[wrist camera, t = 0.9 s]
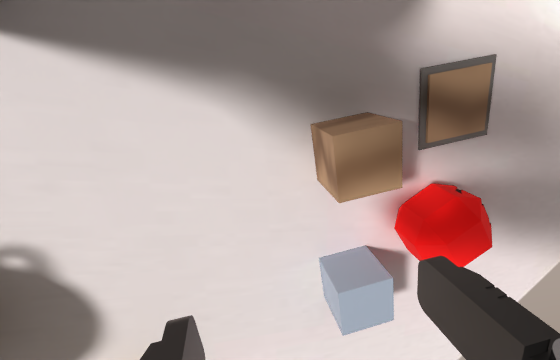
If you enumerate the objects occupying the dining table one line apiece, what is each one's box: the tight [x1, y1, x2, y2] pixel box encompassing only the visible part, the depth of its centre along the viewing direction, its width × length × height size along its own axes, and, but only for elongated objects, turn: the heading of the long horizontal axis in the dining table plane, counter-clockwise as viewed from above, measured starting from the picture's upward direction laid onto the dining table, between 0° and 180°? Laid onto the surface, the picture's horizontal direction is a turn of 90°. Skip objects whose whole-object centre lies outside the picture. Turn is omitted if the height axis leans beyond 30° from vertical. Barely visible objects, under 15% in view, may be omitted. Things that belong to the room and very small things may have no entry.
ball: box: [395, 184, 492, 267], centre depth 30 cm, size 8×8×8 cm
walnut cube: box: [311, 112, 402, 203], centre depth 26 cm, size 6×6×6 cm
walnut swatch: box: [418, 54, 496, 150], centre depth 29 cm, size 8×8×1 cm
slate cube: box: [319, 245, 394, 336], centre depth 32 cm, size 6×6×6 cm
